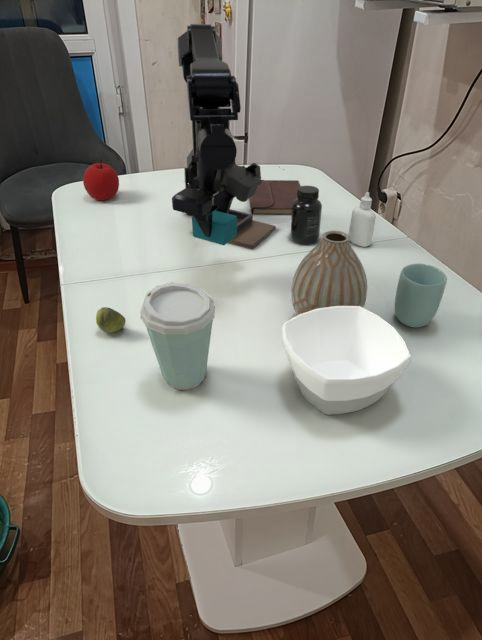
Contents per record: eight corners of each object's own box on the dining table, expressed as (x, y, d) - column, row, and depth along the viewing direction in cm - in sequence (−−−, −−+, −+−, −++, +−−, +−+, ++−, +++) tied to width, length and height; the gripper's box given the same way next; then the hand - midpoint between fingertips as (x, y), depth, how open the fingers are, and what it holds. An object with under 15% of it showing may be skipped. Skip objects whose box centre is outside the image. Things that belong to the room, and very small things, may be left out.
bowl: (313, 442, 71) (320, 393, 65) (262, 365, 84) (264, 318, 78) (417, 408, 77) (432, 361, 71) (355, 341, 90) (363, 296, 84)
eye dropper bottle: (363, 236, 123) (371, 187, 115) (372, 247, 118) (381, 197, 111) (346, 237, 122) (353, 188, 114) (354, 248, 118) (362, 198, 110)
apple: (89, 190, 139) (82, 153, 133) (123, 190, 140) (117, 153, 134) (83, 204, 132) (76, 165, 126) (119, 204, 133) (113, 165, 127)
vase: (305, 297, 101) (313, 213, 90) (369, 315, 96) (386, 229, 85) (277, 332, 91) (282, 242, 80) (346, 354, 87) (362, 262, 76)
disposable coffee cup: (226, 362, 84) (224, 284, 75) (205, 407, 76) (201, 326, 67) (165, 352, 86) (156, 274, 76) (139, 394, 78) (125, 313, 68)
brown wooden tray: (193, 233, 121) (192, 223, 119) (219, 215, 130) (218, 205, 128) (252, 249, 116) (252, 239, 114) (275, 229, 124) (276, 219, 123)
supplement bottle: (318, 233, 123) (324, 184, 116) (318, 246, 118) (324, 196, 110) (290, 231, 124) (294, 182, 116) (288, 244, 118) (292, 193, 111)
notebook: (298, 185, 147) (299, 179, 146) (309, 214, 132) (309, 207, 130) (246, 185, 146) (247, 178, 145) (251, 214, 131) (251, 207, 129)
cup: (409, 337, 91) (422, 289, 85) (382, 315, 97) (392, 268, 90) (442, 326, 94) (456, 279, 88) (414, 305, 100) (426, 259, 93)
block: (224, 245, 96) (223, 226, 94) (192, 236, 99) (191, 217, 96) (237, 235, 100) (237, 216, 97) (206, 226, 102) (205, 207, 100)
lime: (96, 326, 91) (92, 303, 88) (124, 321, 92) (120, 298, 89) (100, 341, 88) (95, 317, 84) (128, 335, 89) (125, 311, 86)
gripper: (225, 175, 80) (226, 263, 90) (277, 142, 93) (273, 222, 103) (166, 161, 83) (173, 247, 93) (224, 132, 96) (225, 210, 106)
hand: (214, 231), depth 99 cm, fingers closed on block, 5 cm apart
